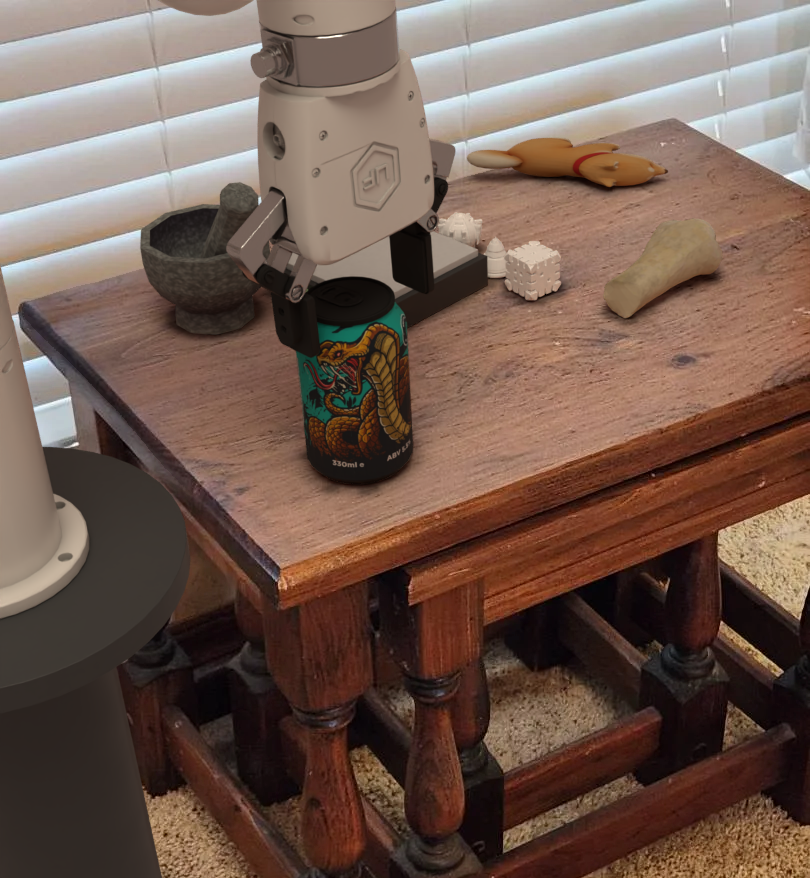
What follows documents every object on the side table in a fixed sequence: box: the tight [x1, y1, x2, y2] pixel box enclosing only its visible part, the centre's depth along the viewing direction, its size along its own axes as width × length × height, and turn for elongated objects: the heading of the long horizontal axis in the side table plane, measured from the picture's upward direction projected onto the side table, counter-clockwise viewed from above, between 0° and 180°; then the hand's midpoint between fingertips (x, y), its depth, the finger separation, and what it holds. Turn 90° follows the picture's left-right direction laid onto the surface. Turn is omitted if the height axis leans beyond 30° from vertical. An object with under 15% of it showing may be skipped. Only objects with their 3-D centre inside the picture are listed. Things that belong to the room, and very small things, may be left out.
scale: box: [284, 230, 489, 329], centre depth 120 cm, size 12×12×3 cm
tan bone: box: [602, 217, 724, 319], centre depth 117 cm, size 11×6×5 cm, turn 150°
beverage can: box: [295, 276, 414, 486], centre depth 99 cm, size 7×7×12 cm
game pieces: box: [437, 212, 562, 301], centre depth 121 cm, size 12×3×3 cm, turn 37°
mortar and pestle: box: [139, 181, 271, 336], centre depth 115 cm, size 11×9×12 cm
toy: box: [466, 137, 669, 188], centre depth 134 cm, size 3×17×5 cm
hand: (358, 316), depth 96 cm, fingers open, 9 cm apart
